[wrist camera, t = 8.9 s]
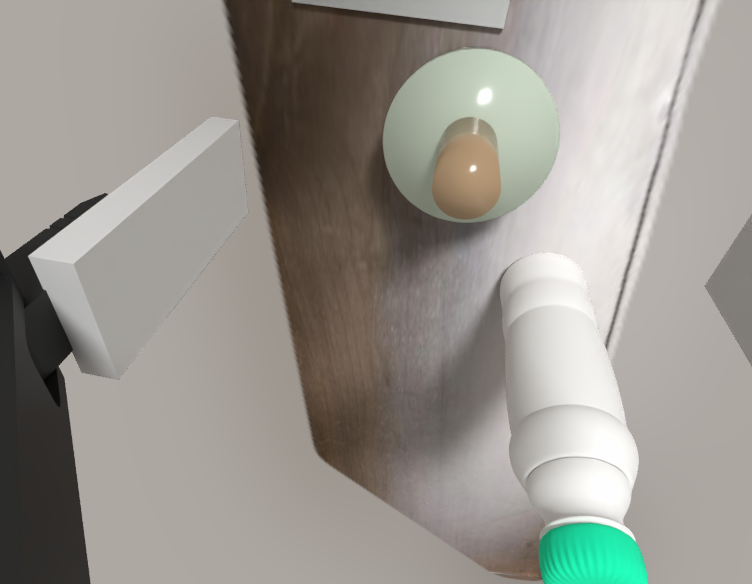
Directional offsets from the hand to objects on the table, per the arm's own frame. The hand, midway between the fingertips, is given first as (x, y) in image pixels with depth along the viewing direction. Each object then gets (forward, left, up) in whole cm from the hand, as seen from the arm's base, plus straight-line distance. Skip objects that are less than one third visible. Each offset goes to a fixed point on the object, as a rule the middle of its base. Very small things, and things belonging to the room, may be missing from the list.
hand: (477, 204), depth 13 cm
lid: (+5, +1, -20) cm, 20 cm away
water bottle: (+18, +9, -24) cm, 32 cm away
